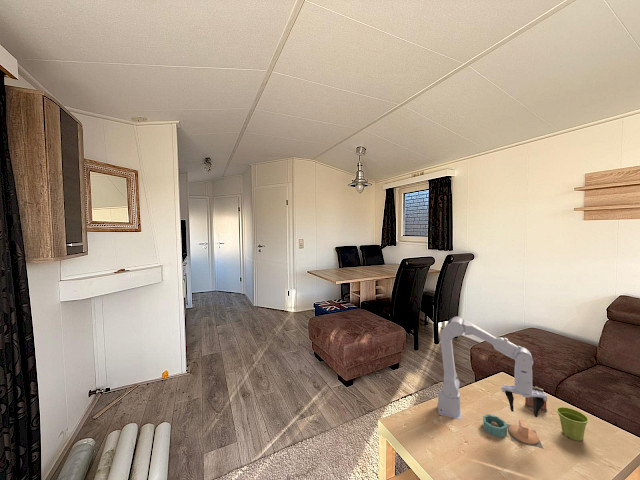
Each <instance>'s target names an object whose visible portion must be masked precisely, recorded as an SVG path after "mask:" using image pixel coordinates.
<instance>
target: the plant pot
mask: <svg viewBox="0 0 640 480" xmlns="http://www.w3.org/2000/svg"><path fill="white" fill-rule="evenodd" d="M556 413H557V414H558V417H559V421H560V425H561V426H560V427H561V431H562V434H563V435H564V436H565V437H568V438H569V439H571V440H574V441H578V442H580V441H582V440H584V437H585V430H586V425H587V424H588V423H589V421H590V419H589V417H588V416H587V415H586V414H584V413H583V412H581V411H578V410H577V409H574V408H571V407H566V406H559V407H556Z"/></svg>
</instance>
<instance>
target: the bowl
mask: <svg viewBox="0 0 640 480" xmlns="http://www.w3.org/2000/svg"><path fill="white" fill-rule="evenodd" d="M491 422H496V423H497V424H498V425H499V427H496V426H492V425H491ZM506 424H507V422H506V421H505V420H503V419H502V418H501V417H499V416H496V415H492V414H485V415H483V416H482V427H483V430H484V431H486V433H488V434H490V435H491V436H494V437H498V438H504V437H507V436H508V428H507V425H506Z"/></svg>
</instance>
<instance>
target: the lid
mask: <svg viewBox="0 0 640 480" xmlns="http://www.w3.org/2000/svg"><path fill="white" fill-rule="evenodd" d="M510 425H511V426H510V427H509V431H508V433H509V432H510V434H511V435H512V436H513V437H514V438H516V439H517V440H519V441H521V442H523V443H522V444H524V443H526V444H525V445H527V444H531V445H534V444H538V443H539V440H540V438H539V435H538V434H537V432H536V433H535V432H533V431H532V430H533V429H530V428H529V427H528V425H527V422H526V420H525V419H520V418H519V419H518V424H510ZM510 434H509V435H510ZM531 445H530V446H531Z"/></svg>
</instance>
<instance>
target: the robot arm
mask: <svg viewBox="0 0 640 480" xmlns="http://www.w3.org/2000/svg"><path fill="white" fill-rule="evenodd" d="M463 334H464V336H471V335H473V336H475V337H477V338H479V339H481V340H483V341H485V342H487V343H489V344H491V345H492V346H493V349H494V350H496V351H498V352H499V353H501V354H503V355H504V356H506V357H508V358H509V359H512V360H514V362H515V363H514V385H506V384H505V385H504V384H501V385H500V386H501V392H502V393H504V394H505V396H506V398H507V400H508V403H509V404H508V405H509V408H510V412H513V413H514V410H515V409H514V399H515V397H514V394H516V395H520V396H522V397H523V398H525V397H527V398H529V397H533V403H534V407H533V409H532V412H533V413H532V414H533V416H534V417H535V418H538V415H539V413H540V411H539V410H540V409H541V407H542V406H543V405H544V401H543V400H545V401H546V402H548V401H547V400H548V394H547V393H545V392H543V393H542V392H538V391H535V390H532V386H533V369H532V368H533V365H534V359H533V356H532V353H531V351H530V350H528V349H527V348H526V347H524V346H520V345H517V344H514V343H513V342H511V341H510V340H509V339H508V338H507V337H501V336H499V337H496V336H494V335H493V334H491V333H489V332H487V331H486V330H484V329H483V328H481V327H479V326H478V325H475V324H474V323H472V322H471V321H470V320H467V319H464V318H463V317H461V316H457V315H456V316H453V317H451V318H450V319H449V320H448V321H447V323H446V324H445V326H444V327H443V329H442V330H441V332H440V333H439V341H440V351H441V357H442V366H443V385H442V389H441V390H438V391H437V393H438V394H437V395H438V396H437V399H438V400H437V409H438V410H437V412H438V413H437V414H438V415H439V416H446V417H449V418H454V419H458V420H460V421H462V420H463V419H462V418H463V417H462V410H461V394H460V391H459V389H460V385H461V381H460V379H459V378H458V374H457V372H456V365H455V357H454V345H453V339H454V338H455V337H460V336H462V335H463Z"/></svg>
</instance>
